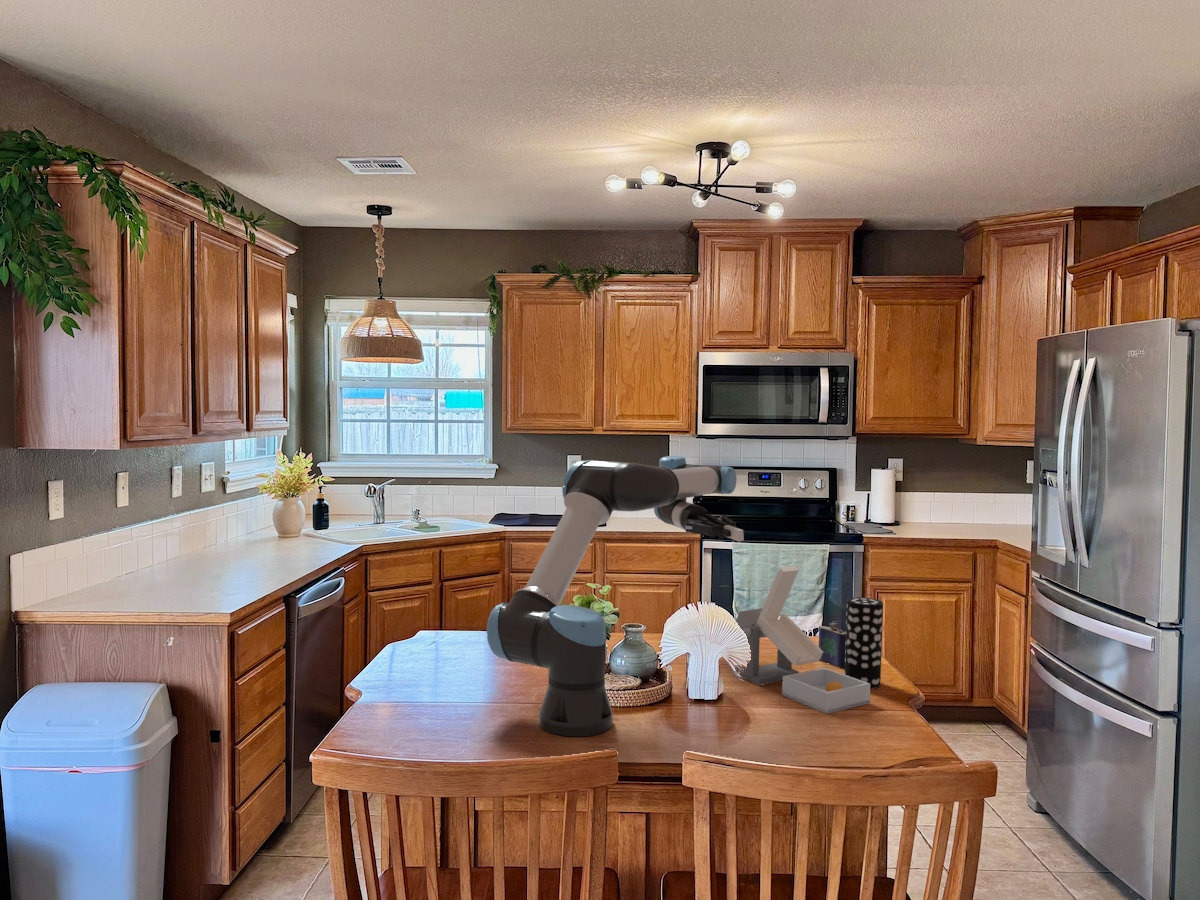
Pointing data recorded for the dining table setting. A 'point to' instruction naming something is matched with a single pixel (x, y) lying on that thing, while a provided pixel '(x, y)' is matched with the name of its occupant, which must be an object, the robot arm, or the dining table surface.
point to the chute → (781, 622)
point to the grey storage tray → (813, 690)
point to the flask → (832, 645)
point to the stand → (766, 671)
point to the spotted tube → (864, 640)
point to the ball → (833, 686)
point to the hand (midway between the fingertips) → (740, 535)
